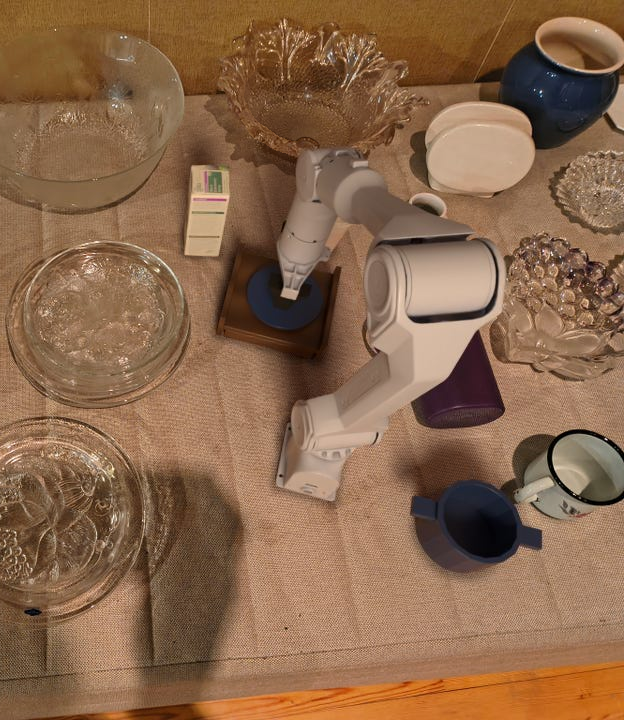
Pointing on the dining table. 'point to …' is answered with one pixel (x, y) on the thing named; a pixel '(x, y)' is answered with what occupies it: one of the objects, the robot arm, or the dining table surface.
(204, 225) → the syrup box
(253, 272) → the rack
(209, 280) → the dining table surface
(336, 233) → the smoothie
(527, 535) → the pot
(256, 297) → the lid
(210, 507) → the dining table surface
